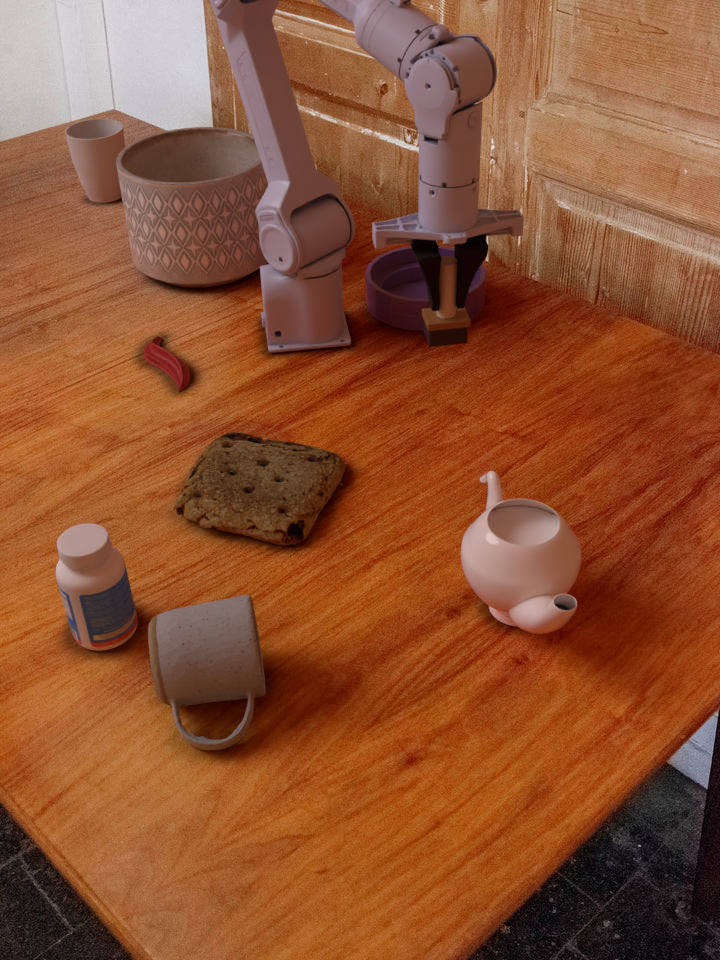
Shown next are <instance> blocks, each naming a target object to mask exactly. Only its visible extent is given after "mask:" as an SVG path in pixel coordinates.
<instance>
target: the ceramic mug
mask: <svg viewBox="0 0 720 960" xmlns="http://www.w3.org/2000/svg"><path fill="white" fill-rule="evenodd" d="M253 601H254V600H253V597H252V595H250V594H249V593H248V594H241V595H236V596H233V597H228V598H224V599H223V598H222V599H218V600H214V601H207V602H201V603H198V604H194V605H189V606H183V607H177V608H173V609H169V610H167V611H164V612H161V613H159V614H158V613H157V614H156V615H154V616H153V617H152V618H151V619H150V622H149V623H148V627H147V628H148V629H147V640H148V641H147V642H148V643H147V644H148V652H149V662H150V668H151V669H150V670H151V675H152V680H153V685H154V689H155V692H156V695H157V697H158V699H159V700H160V702H162V703H163V704H164V705H166V706H171V710H172V717H173V720H174V724H175V727H176V728H177V730H178V732H179V734H180V735H181V737H182V739H183V740H184V741H186V742H187V744H189V745H191V746H192V747H194V748H196V749H200V750H202V751H220V750H223V749H228V748H230V747H232V746H234V745H236V744H237V743H238V742H240V741H241V740H242V738H243V737H244V736H245V735H246V733H247V732H248V730H249V729H250V725H251V723H252V721H253V716H254V709H255V699H256V698H260V697H264V696H265V695H266V693H267V692H266V691H267V688H266V678H265V669H264V661H263V656H262V655H263V654H262V648H261V641H260V634H259V629H258V622H257V616H256V612H255V606H254V602H253ZM246 699H247V704H246V708H245V712H244V715H243V718H242V720H241V722H240V723H239V724H238V726H237V727H236V728H235V729H234V730H233V731H232V733H231V734H229V735H228V736H227V737H226V738H221V739H220V738H219V739H210V738H208V737H205V736H203V735H202V736H201V735H200V736H197V735H195V734H193V733H189V732H188V730H187V729H186V728H185V726H184V725H183V722H182V719H181V713H180V712H181V711H180V710H181V709H180V708H181V707H186V706H187V707H188V706H193V705H195V706H196V705H201V704H207V703H215V702H229V701H230V702H231V701H237V700H246Z"/></svg>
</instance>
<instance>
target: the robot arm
mask: <svg viewBox="0 0 720 960" xmlns="http://www.w3.org/2000/svg"><path fill="white" fill-rule="evenodd" d="M209 1H210V4H211V8H212V11H213V14H214V16H215V19H216V23H217V27H218V30H219V33H220V36H221V40H222V42H223V45H224V48H225V52H226V55H227V57H228V58H227V59H228V62H229V64H230V68H231V71H232V75H233V77H234V80H235V84H236V86H237V89H238V93H239V96H240V99H241V102H242V105H243V109H244V112H245V115H246V118H247V121H248V125H249V127H250V131H251V134H253V137H254V140H255V143H256V147H257V150H258V153H259V156H260V159H261V162H262V166H263V169H264V172H265V175H266V178H267V181H268V187H267V189H266V191H265V193H264V195H263V196H262V198H261V200H260V202H259V204H258V206H257V208H256V210H255V213H256V216H257V220H258V223H259V240H260V247H261V250H262V253H263V255H264V257H265V259H266V260H267V263H266V264H265V265H263V266H260V268H259V274H260V275H259V276H260V286H261V287H260V288H261V295H262V299H261V300H262V307H263V308H262V309H263V311H261V312H260V315H261V325H262V328H264V329H265V335H266V342H267V349H268V352H269V353H284V352H293V351H307V350H316V349H327V348H338V347H339V348H340V347H347V346H351V344H352V338H351V333H350V330H349V327H348V324H347V319H346V314H345V311H344V290H343V267H342V265H343V264H342V261H343V259H344V258H346V256H347V255H346V254H347V253H346V251H347V250H346V248H347V247H348V246H349V245H351V244H352V242H353V241H354V239H355V236H356V221H355V217H354V215H353V212H352V210H351V208H350V206H349V205H348V204H347V202H346V201H345V199H344V197H343V196H342V193H341V190H340V187H339V184H338V181H336V180H335V179H334V178H332V177H329V176H327V175H325V174H323V173H322V172H320V171H318V170H317V166H316V164H315V161H314V157H313V153H312V150H311V147H310V143H309V141H308V137H307V134H306V131H305V127H304V124H303V119H302V117H301V113H300V110H299V107H298V103H297V100H296V98H295V93H294V90H293V87H292V84H291V80H290V77H289V74H288V69H287V67H286V66H287V65H286V63H285V59H284V57H283V54H282V50H281V47H280V43H279V39H278V36H277V33H276V30H275V27H274V23H273V18H274V15H275V14H276V13H275V12H276V11H277V9H278V6H279V3H280V2H281V0H209ZM316 1H317V2H318V3H320V4H322V6H324V7H325V8H327V9H329V10H330V11H332V12H333V13H335V14H336V15H338V16H339V17H341V18H342V19H343V20H345V21H346V22H348V23H350V24H351V25H352V26H353V27H354V28H353V29H354V37H355V41H356V44H357V46H358V47H359V48H360V49H362V51H364V52H366V54H368V55H369V57H372V58H373V59H374V60H375V61H376V62H378V63H379V64H380V65H381V66H383V67H384V68H385V69H387V70H388V72H390V73H391V74H393V75H394V76H395V77H397V79H399V80H400V81H401V82H402V83H404V90H405V94H406V96H407V99H408V101H409V103H410V105H411V107H412V110H413V112H414V127H416V130H417V133H418V189H417V190H418V192H417V193H418V197H417V198H418V199H417V201H418V203H417V204H418V206H417V207H418V208H417V210H418V211H417V212H415V213H411V214H406V215H404V216H399V217H395V218H391V219H387V220H382V221H374V222H372V223H371V225H372V226H371V234H372V239H371V241H372V243H373V246H374V249H375V250H383V249H386V248H387V246H393V245H405V244H410V246H411V247H412V250H413V252H414V254H415V257H416V259H417V261H418V263H419V265H420V267H421V269H422V272H423V276H424V279H425V283H426V287H427V292H428V300H429V304H430V307H431V309H432V311H439V307H440V295H439V277H440V267H441V260H442V257H441V255H440V253H439V251H438V246H439V245H438V243H437V242H444V243H445V244H446V245H451V246H452V245H453V248H454V252H455V258H456V259H457V261H458V263H457V295H456V306H457V308H458V309H460V308H464V306H465V301H466V298H467V294H468V291H469V288H470V286H471V283H472V281H473V278H474V276H475V274H476V272H477V271H478V269H479V267H480V266H481V264H483V263H484V261H485V260H486V259H487V257H488V255H489V243H488V242H487V237H493V236H504V235H505V236H506V235H510V236H511V237H515V238H516V237H522V236H523V235H524V223H525V222H524V221H525V217H524V216H523V214H522V212H521V211H520V210H519V209H490V208H489V209H488V208H479V200H480V176H481V156H482V155H481V154H482V153H481V152H482V151H481V150H482V131H483V129H482V128H483V127H482V125H483V101H482V100H484V99H485V98H487V97H489V95H490V94H491V93H492V92H493V90H494V88H495V86H496V83H497V79H498V67H497V62H496V58H495V56H494V54H493V52H492V50H491V49H490V47H489V46H488V45H487V44H486V42H484V41H483V40H482V38H481V37H480V36H479V35H477V34H474V33H462V34H457V33H455V32H454V31H450V29H449V28H448V27H447V26H446V25H444V24H443V23H440V24H439V23H438V22H436V21H435V20H434V19H433V18H431V17H430V16H429V15H427V14H426V13H425V12H424V11H423V10H421V9H420V8H419V7H417V6H416V5H415V4H414V3H412V0H316Z"/></svg>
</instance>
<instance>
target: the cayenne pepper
mask: <svg viewBox="0 0 720 960" xmlns="http://www.w3.org/2000/svg"><path fill="white" fill-rule="evenodd" d="M162 339H163V337H161V336H156V337H154V338H152V339H151V341H150V342H148V344H147V345H146V346H145V347H144V350H143V352H144V353H143V354H144V360H145V361H146V363H148V364H150V365H152V366H153V367H155V368H158V369H160V370H161V371H162V372H164V373H165V374H166V375H168V376H169V378H171V380H172V381H173V382H174V383H175V384H176V385H177V389H178V392H182V391H183V390H185V389H186V388H187V387H188V386H189V384H190V382H191V373H190V369H189V367H188V365H187V364H186V363H185V362H184V360H182V359H181V358H179V357H178V356H176V355H174V354H172V353H171V352H170V351H168V350H167V349H165V348H163V347H161V343H162Z"/></svg>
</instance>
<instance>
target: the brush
mask: <svg viewBox="0 0 720 960" xmlns="http://www.w3.org/2000/svg"><path fill="white" fill-rule="evenodd" d="M457 263H458V261H457V259H456V258H454V257H450V256H444V257H442V260H441V267H440V277H439V295H440V307H439V311H432V309H431V308H424V309H422V317H423V319H424V331H423V333H424V337H425V340H426V342H427V345H428V347H429V348H435V347H443V346H444V347H445V346H454V345H464V344H468V340H469V337H468V336H469V335H468V334H469V328H471V326H472V324H471V322H472V320H470V318H469V316H468V314H467V312H466V309H465V307H464V308H460V309H458V308H457V306H456V295H457Z"/></svg>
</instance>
